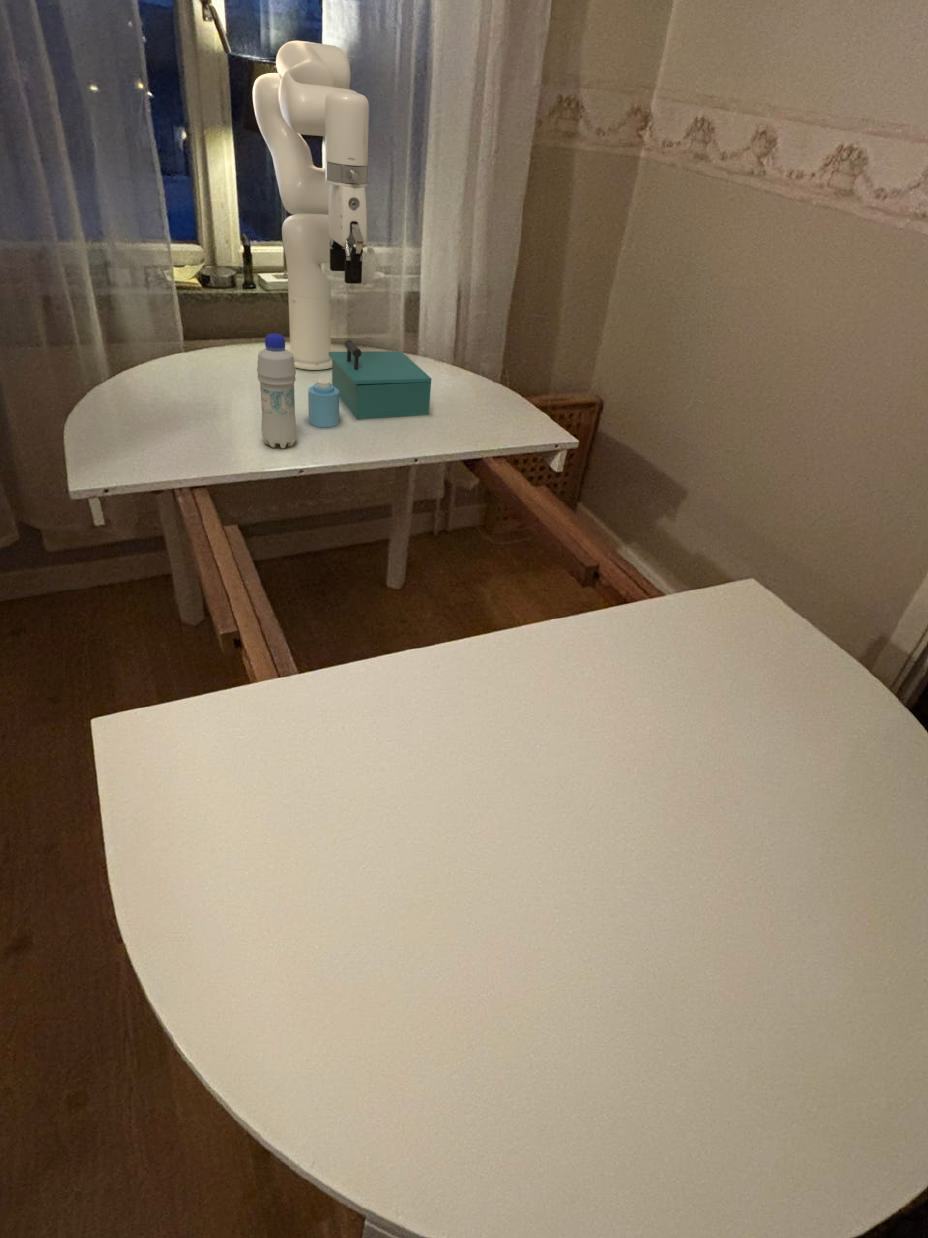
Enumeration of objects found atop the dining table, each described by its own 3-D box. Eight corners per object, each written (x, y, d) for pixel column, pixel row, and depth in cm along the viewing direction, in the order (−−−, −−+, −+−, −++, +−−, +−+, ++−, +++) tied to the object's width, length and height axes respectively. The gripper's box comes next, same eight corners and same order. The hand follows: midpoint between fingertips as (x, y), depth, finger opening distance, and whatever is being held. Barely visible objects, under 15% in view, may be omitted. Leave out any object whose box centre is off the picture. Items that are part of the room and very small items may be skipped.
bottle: (257, 437, 140) (250, 328, 128) (292, 435, 142) (289, 327, 130) (266, 452, 135) (259, 340, 123) (302, 449, 138) (299, 339, 126)
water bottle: (305, 416, 150) (304, 376, 145) (334, 415, 152) (334, 375, 148) (313, 428, 146) (312, 387, 141) (342, 426, 148) (343, 385, 143)
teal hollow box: (357, 419, 152) (357, 385, 148) (332, 388, 165) (332, 356, 161) (428, 414, 158) (431, 382, 154) (399, 385, 171) (401, 354, 167)
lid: (353, 384, 147) (354, 358, 144) (328, 355, 160) (328, 331, 157) (431, 382, 154) (433, 357, 151) (401, 354, 167) (402, 331, 164)
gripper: (382, 183, 129) (378, 288, 139) (351, 169, 141) (350, 266, 151) (340, 181, 126) (339, 288, 136) (313, 166, 138) (314, 265, 148)
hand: (345, 276), depth 143 cm, fingers open, 9 cm apart
